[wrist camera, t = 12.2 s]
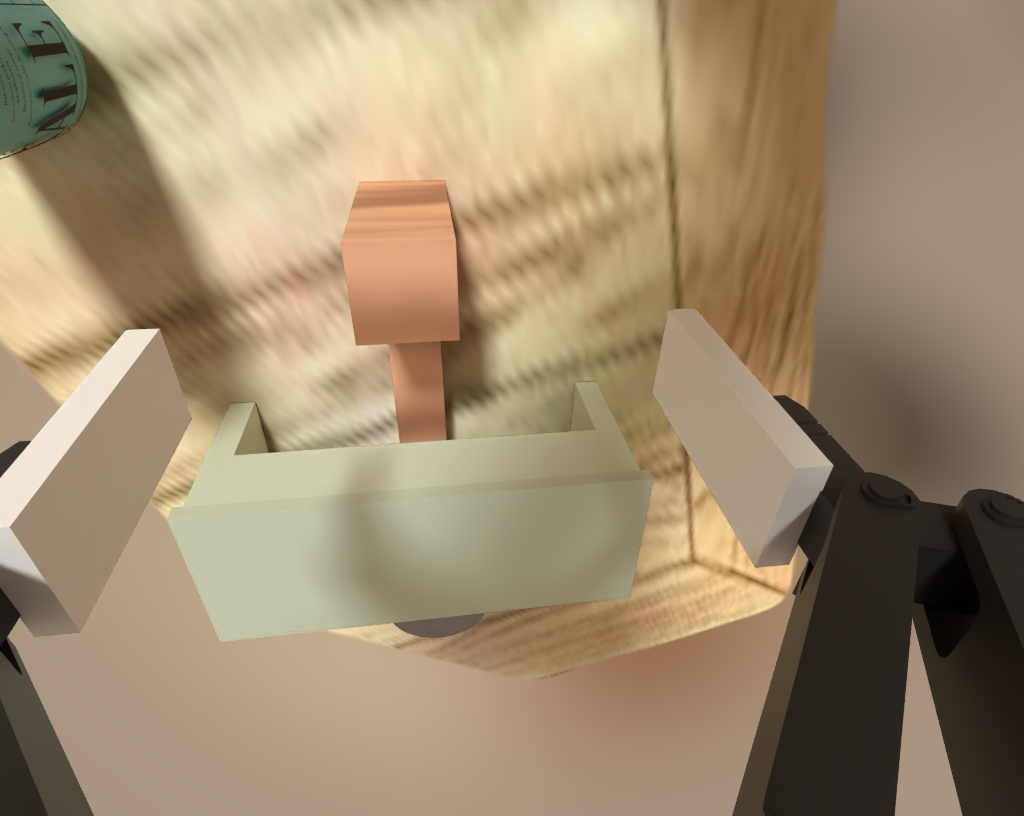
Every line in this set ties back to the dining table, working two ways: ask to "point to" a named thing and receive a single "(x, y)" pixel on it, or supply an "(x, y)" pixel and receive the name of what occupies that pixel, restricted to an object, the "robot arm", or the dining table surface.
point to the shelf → (411, 525)
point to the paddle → (405, 292)
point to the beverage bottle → (37, 75)
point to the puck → (440, 625)
